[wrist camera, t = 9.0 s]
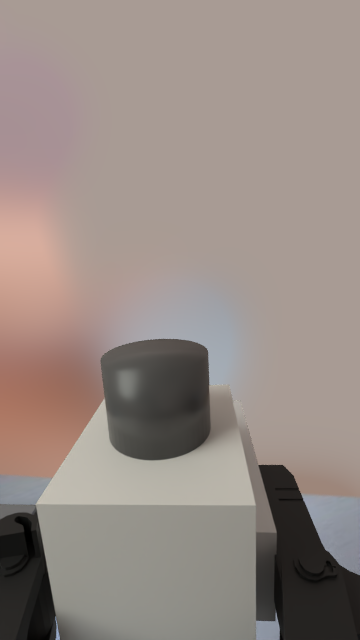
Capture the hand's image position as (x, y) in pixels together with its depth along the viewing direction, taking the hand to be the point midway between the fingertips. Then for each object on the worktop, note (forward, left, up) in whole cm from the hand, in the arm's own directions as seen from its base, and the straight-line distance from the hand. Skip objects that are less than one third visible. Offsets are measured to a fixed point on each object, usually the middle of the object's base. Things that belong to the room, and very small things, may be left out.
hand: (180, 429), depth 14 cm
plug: (+1, +5, -8) cm, 9 cm away
